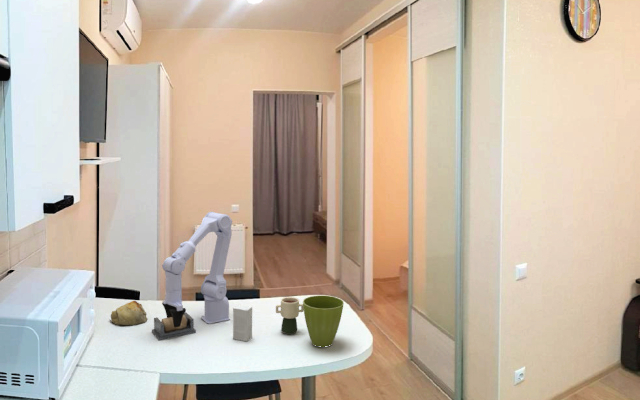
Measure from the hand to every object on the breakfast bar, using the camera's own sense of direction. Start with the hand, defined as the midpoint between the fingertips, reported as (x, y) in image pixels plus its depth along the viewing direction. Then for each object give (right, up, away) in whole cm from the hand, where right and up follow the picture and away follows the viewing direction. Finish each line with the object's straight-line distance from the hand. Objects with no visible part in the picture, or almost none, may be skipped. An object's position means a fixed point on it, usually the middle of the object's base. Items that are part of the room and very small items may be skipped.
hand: (173, 323), depth 182 cm
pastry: (-21, -2, +11) cm, 24 cm away
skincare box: (+27, -5, -3) cm, 27 cm away
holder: (0, -4, 0) cm, 4 cm away
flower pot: (+56, -6, -5) cm, 57 cm away
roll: (0, -3, 0) cm, 3 cm away
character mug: (+44, -5, +4) cm, 44 cm away
